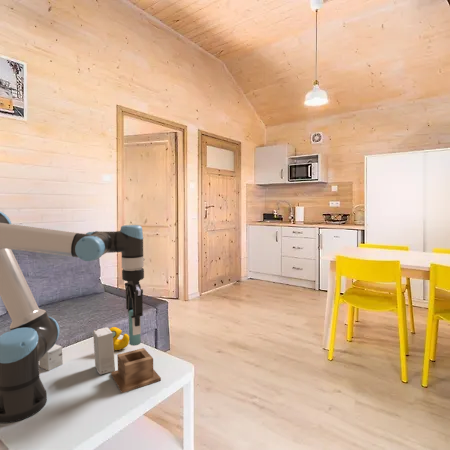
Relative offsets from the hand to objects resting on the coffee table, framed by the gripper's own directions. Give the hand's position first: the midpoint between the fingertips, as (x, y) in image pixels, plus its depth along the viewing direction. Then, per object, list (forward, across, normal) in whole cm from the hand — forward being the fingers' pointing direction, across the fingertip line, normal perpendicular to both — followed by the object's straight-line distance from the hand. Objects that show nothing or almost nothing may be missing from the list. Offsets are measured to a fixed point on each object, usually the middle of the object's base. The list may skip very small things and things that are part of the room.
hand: (134, 331), depth 118 cm
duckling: (+17, +27, 0) cm, 32 cm away
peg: (+4, 0, 0) cm, 4 cm away
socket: (+17, 0, 0) cm, 17 cm away
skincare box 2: (+17, +13, +8) cm, 23 cm away
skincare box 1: (+17, +27, +25) cm, 41 cm away
